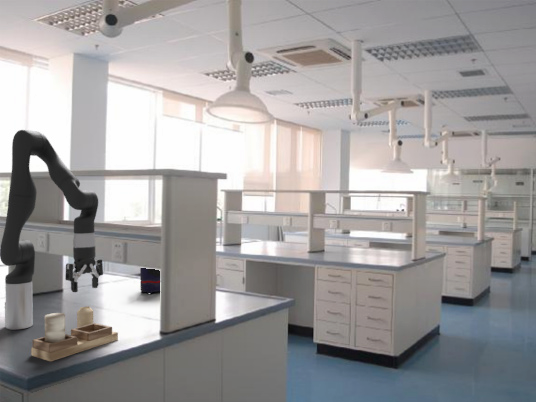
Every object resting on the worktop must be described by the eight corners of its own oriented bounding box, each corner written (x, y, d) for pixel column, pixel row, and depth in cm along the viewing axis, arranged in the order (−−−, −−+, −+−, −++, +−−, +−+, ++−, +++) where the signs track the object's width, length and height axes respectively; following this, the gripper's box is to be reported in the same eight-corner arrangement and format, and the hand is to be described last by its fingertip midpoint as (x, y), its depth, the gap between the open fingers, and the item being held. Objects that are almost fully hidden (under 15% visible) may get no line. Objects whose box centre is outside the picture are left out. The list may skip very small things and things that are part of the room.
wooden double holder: (31, 355, 156) (30, 316, 156) (99, 335, 178) (98, 300, 178) (50, 361, 151) (50, 320, 151) (117, 339, 173) (117, 304, 173)
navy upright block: (168, 292, 253) (168, 233, 253) (147, 295, 245) (147, 235, 245) (155, 288, 264) (154, 232, 263) (134, 291, 256) (134, 233, 255)
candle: (86, 337, 176) (85, 309, 175) (73, 335, 178) (73, 308, 177) (96, 333, 181) (96, 306, 181) (84, 331, 183) (84, 304, 183)
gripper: (93, 243, 187) (94, 285, 187) (60, 246, 174) (61, 292, 175) (107, 244, 182) (107, 287, 183) (73, 248, 170) (74, 294, 171)
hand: (85, 289), depth 179 cm, fingers open, 8 cm apart
